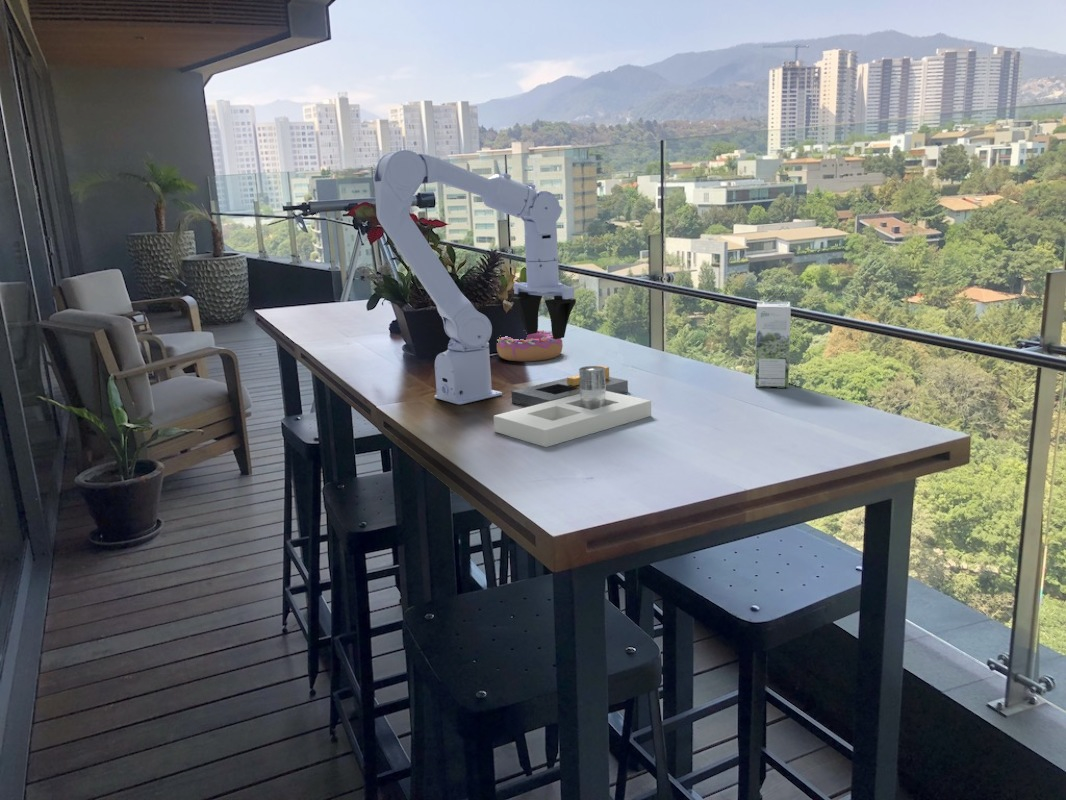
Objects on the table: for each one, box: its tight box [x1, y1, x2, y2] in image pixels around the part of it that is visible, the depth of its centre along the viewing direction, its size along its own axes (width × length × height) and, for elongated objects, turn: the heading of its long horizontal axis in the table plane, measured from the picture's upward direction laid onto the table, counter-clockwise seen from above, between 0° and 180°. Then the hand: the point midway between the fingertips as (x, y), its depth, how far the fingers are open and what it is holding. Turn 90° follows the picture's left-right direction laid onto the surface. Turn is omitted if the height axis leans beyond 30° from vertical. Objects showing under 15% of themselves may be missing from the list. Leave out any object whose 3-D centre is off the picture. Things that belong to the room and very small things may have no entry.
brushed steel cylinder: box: [578, 365, 606, 410], centre depth 136 cm, size 4×4×8 cm
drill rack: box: [493, 391, 652, 448], centre depth 134 cm, size 22×12×2 cm, turn 130°
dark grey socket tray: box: [511, 376, 629, 407], centre depth 151 cm, size 18×10×2 cm, turn 130°
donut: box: [496, 330, 564, 363], centre depth 188 cm, size 14×14×5 cm
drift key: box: [566, 364, 610, 386], centre depth 153 cm, size 8×3×2 cm, turn 130°
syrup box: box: [754, 301, 792, 389], centre depth 151 cm, size 6×6×14 cm
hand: (545, 335), depth 157 cm, fingers open, 7 cm apart
